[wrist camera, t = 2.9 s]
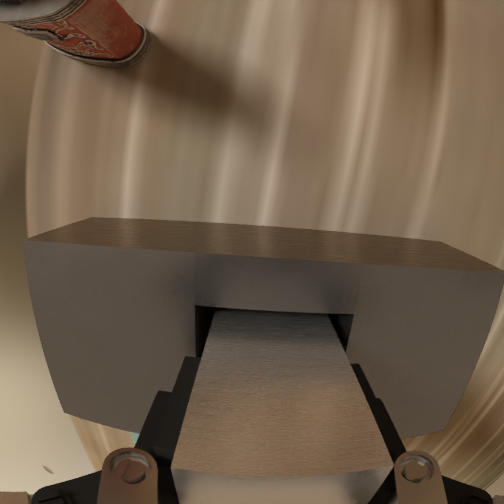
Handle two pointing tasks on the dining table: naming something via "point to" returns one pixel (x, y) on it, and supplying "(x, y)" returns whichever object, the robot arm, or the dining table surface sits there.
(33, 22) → the lighter
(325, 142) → the dining table surface
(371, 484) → the peg
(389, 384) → the rail
